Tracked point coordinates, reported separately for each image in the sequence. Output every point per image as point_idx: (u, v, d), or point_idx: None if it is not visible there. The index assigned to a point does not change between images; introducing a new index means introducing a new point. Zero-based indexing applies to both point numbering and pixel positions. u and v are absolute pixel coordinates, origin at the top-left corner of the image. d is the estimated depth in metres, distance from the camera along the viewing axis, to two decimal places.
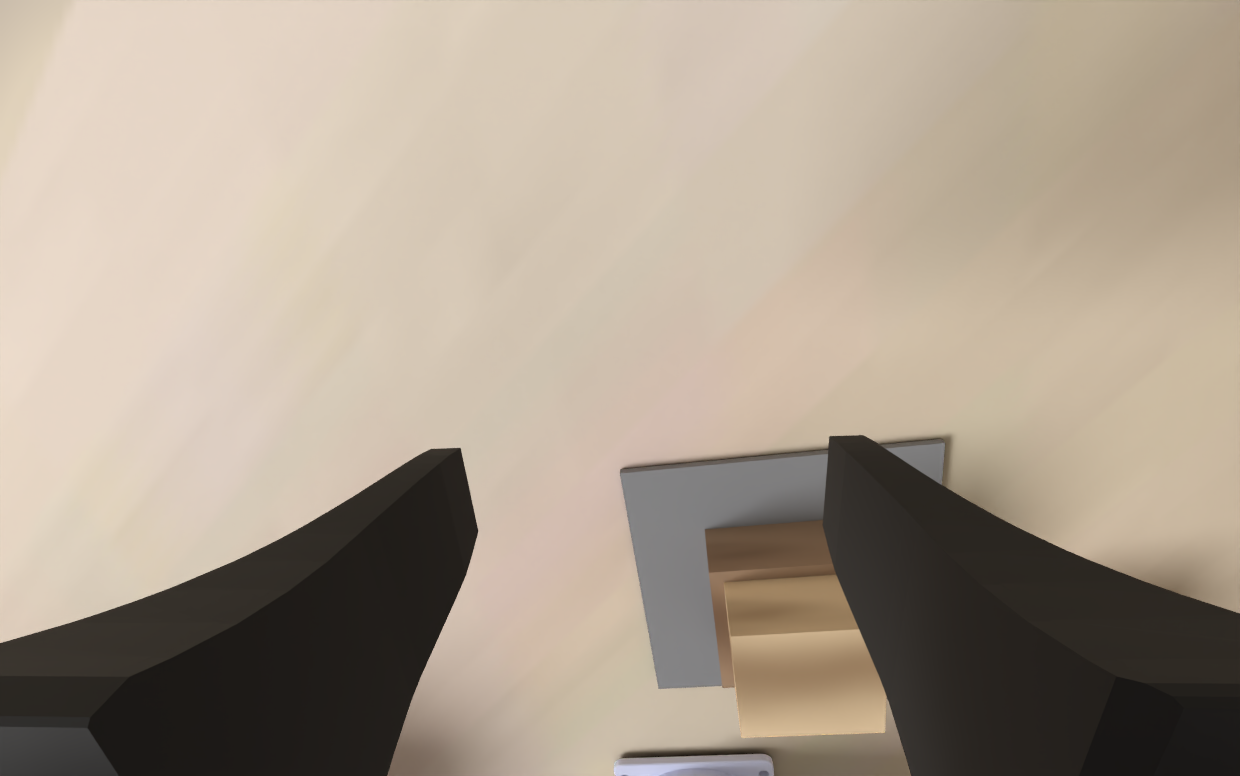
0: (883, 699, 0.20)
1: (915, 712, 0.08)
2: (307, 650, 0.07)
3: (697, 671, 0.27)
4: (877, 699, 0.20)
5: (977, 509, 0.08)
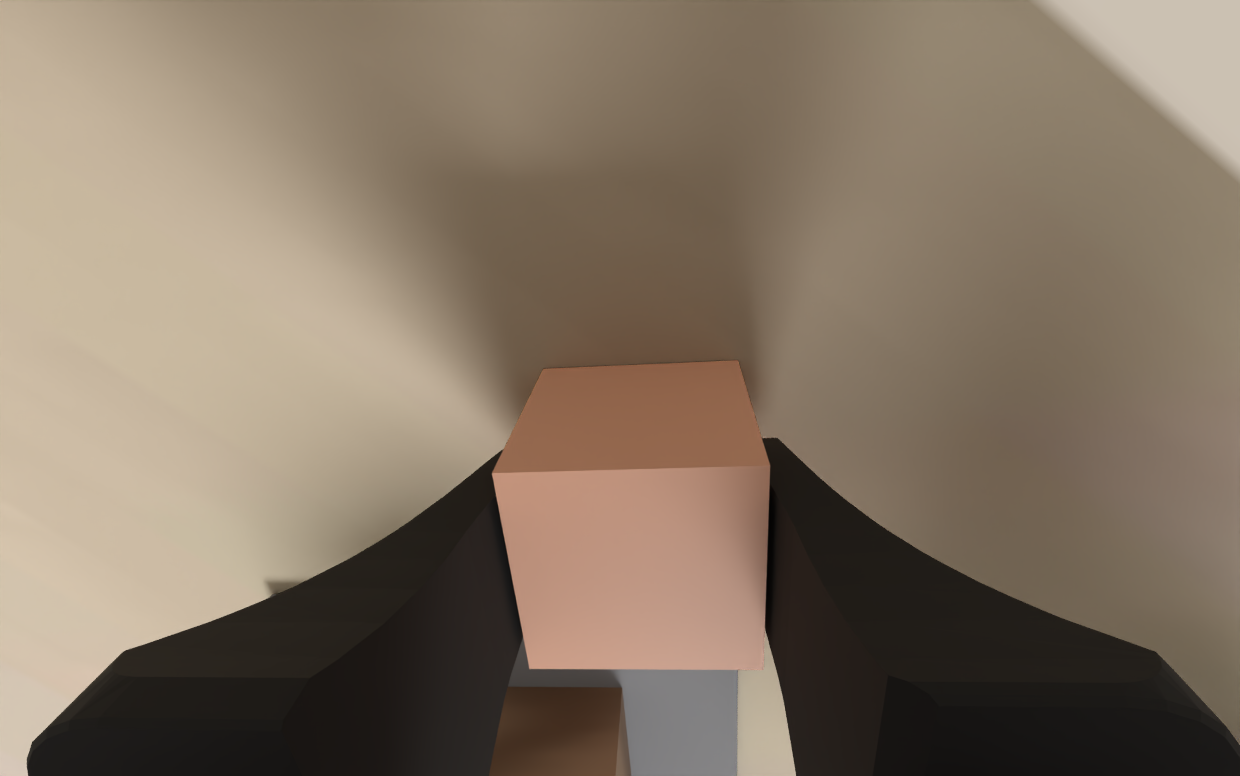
0: None
1: (796, 710, 0.08)
2: (432, 650, 0.07)
3: None
4: None
5: (856, 511, 0.08)
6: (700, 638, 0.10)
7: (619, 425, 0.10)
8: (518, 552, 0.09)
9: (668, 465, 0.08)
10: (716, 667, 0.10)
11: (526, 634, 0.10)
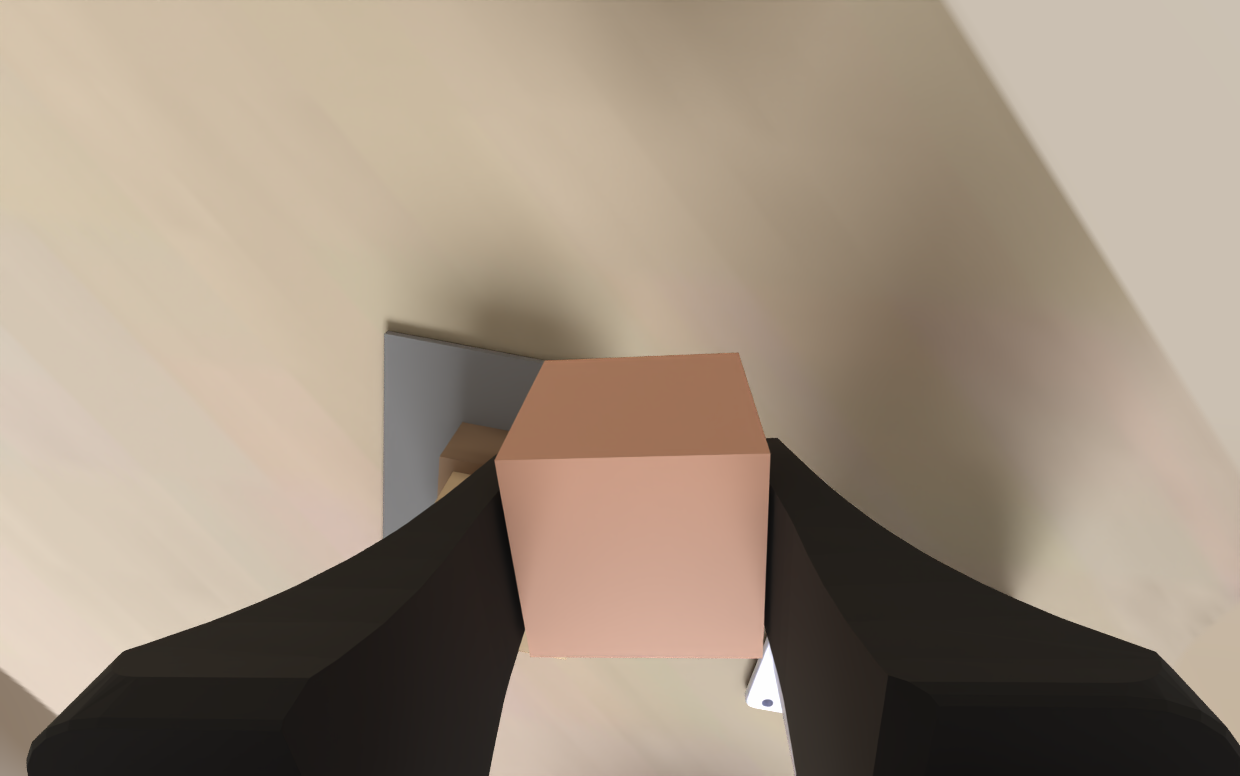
0: None
1: (796, 710, 0.08)
2: (432, 650, 0.07)
3: None
4: None
5: (855, 511, 0.08)
6: (700, 626, 0.10)
7: (620, 414, 0.10)
8: (520, 540, 0.09)
9: (669, 453, 0.09)
10: (715, 656, 0.10)
11: (527, 622, 0.10)
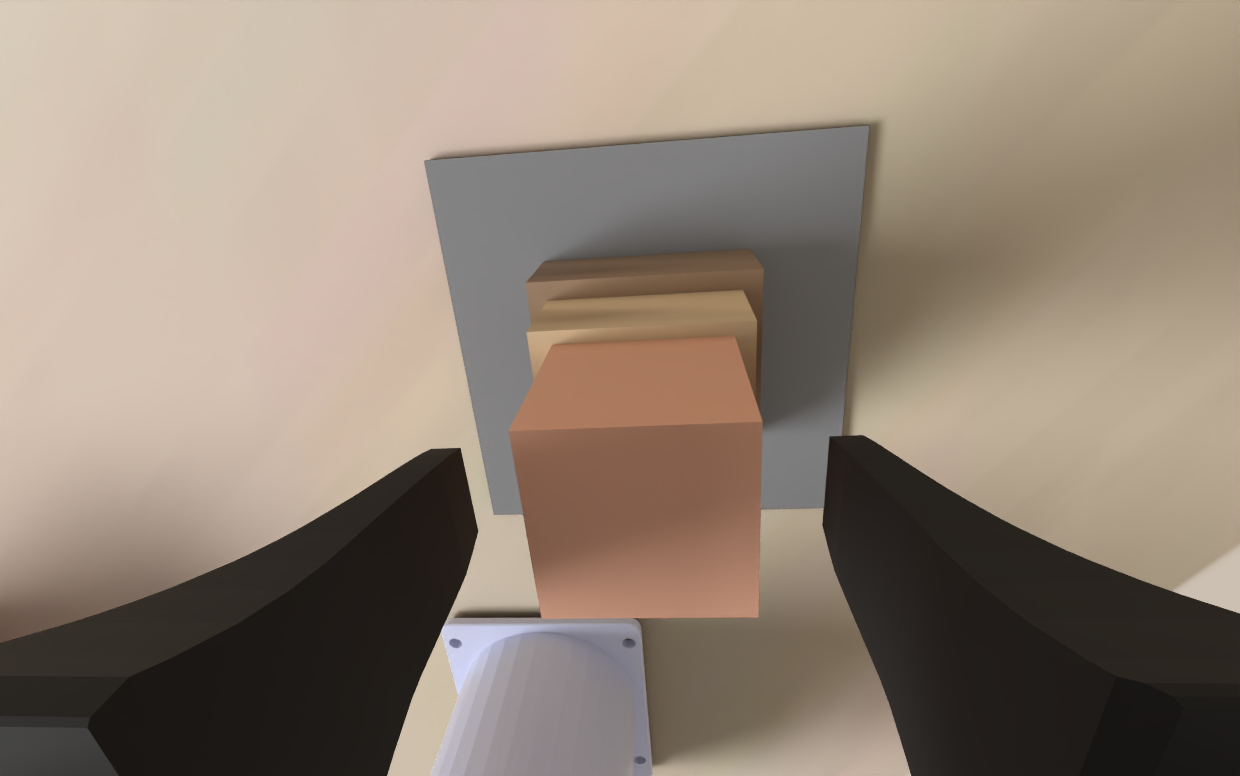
0: None
1: (915, 712, 0.08)
2: (307, 650, 0.07)
3: None
4: None
5: (977, 509, 0.08)
6: (700, 587, 0.10)
7: (624, 390, 0.11)
8: (532, 506, 0.10)
9: (670, 423, 0.09)
10: (714, 616, 0.11)
11: (539, 585, 0.11)
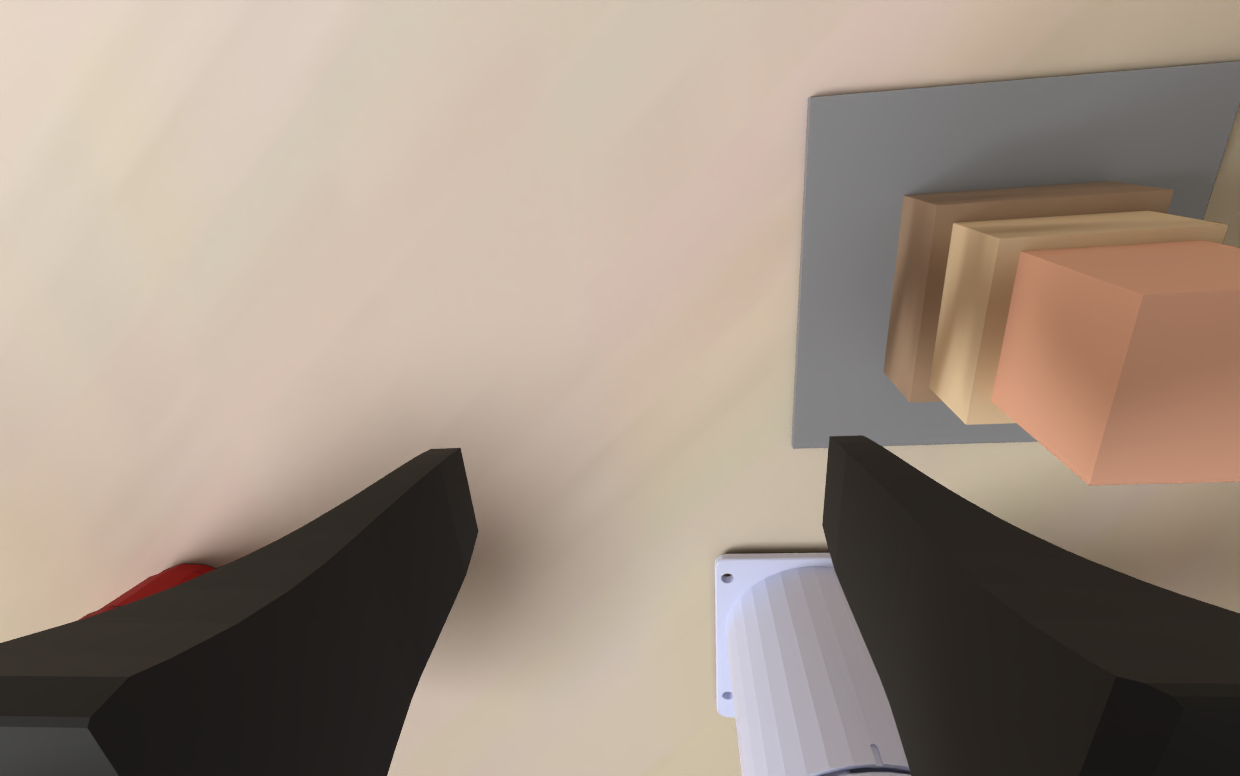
0: None
1: (915, 712, 0.08)
2: (307, 650, 0.07)
3: (847, 422, 0.22)
4: None
5: (977, 509, 0.08)
6: None
7: (1189, 270, 0.12)
8: (1132, 370, 0.11)
9: None
10: None
11: (1103, 450, 0.12)
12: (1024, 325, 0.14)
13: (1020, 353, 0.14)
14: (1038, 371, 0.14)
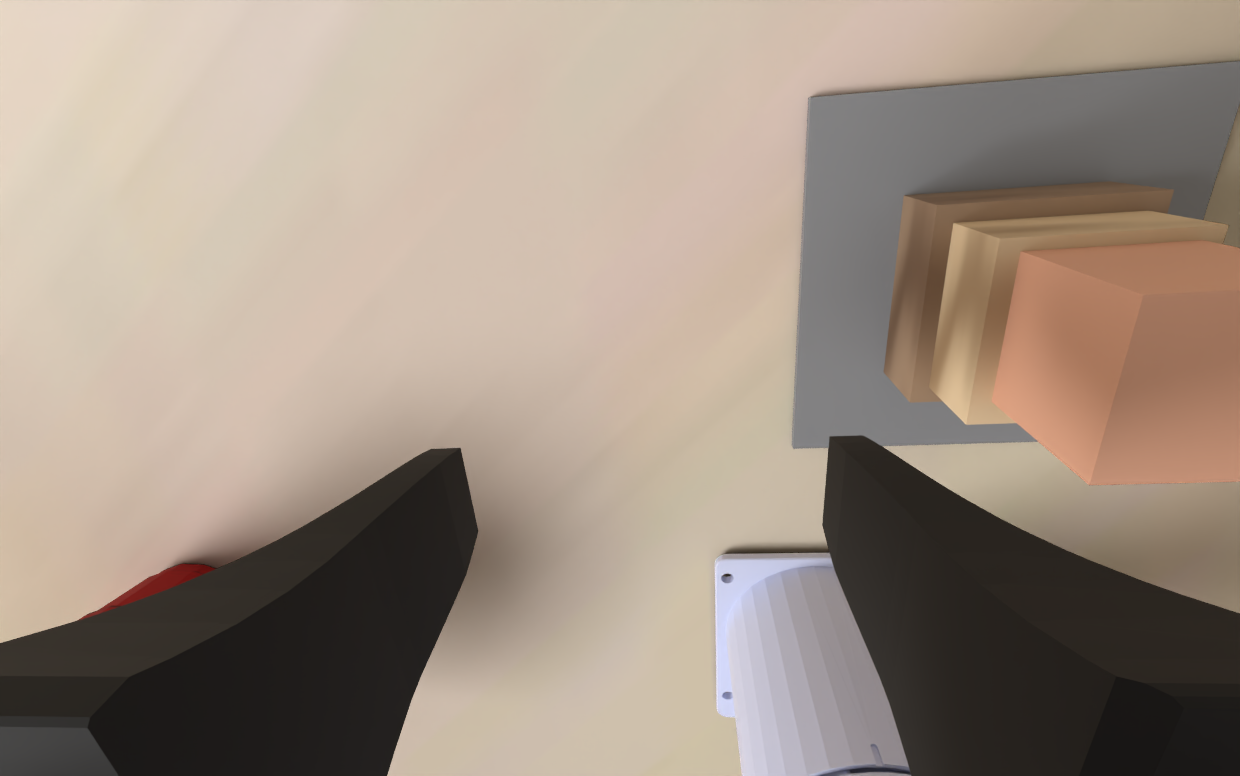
0: None
1: (915, 712, 0.08)
2: (307, 650, 0.07)
3: (847, 422, 0.22)
4: None
5: (977, 509, 0.08)
6: None
7: (1189, 270, 0.12)
8: (1132, 370, 0.11)
9: None
10: None
11: (1103, 450, 0.12)
12: (1025, 325, 0.14)
13: (1020, 353, 0.14)
14: (1038, 371, 0.14)
